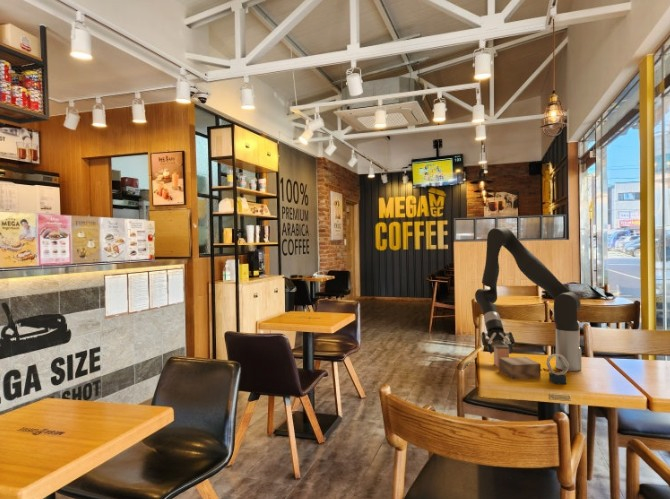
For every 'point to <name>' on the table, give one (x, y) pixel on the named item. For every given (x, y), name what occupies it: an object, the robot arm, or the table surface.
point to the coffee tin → (500, 353)
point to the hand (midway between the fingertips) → (501, 352)
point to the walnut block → (520, 367)
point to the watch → (558, 376)
